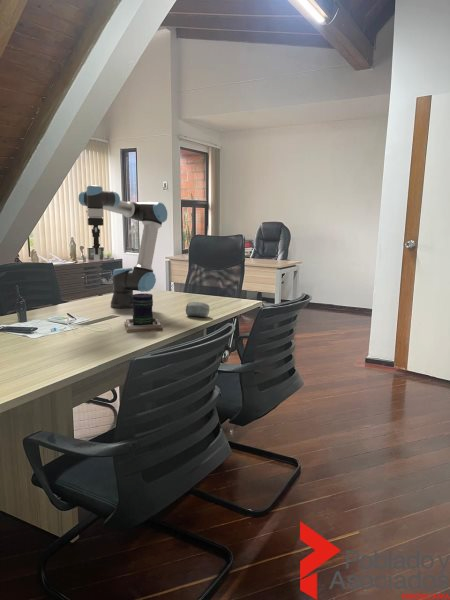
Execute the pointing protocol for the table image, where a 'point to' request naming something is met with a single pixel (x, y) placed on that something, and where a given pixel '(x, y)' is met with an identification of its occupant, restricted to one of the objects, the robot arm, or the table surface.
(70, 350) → the table surface
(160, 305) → the table surface
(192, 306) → the spool
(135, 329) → the cradle plate
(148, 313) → the rusty blue barrel
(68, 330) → the table surface
